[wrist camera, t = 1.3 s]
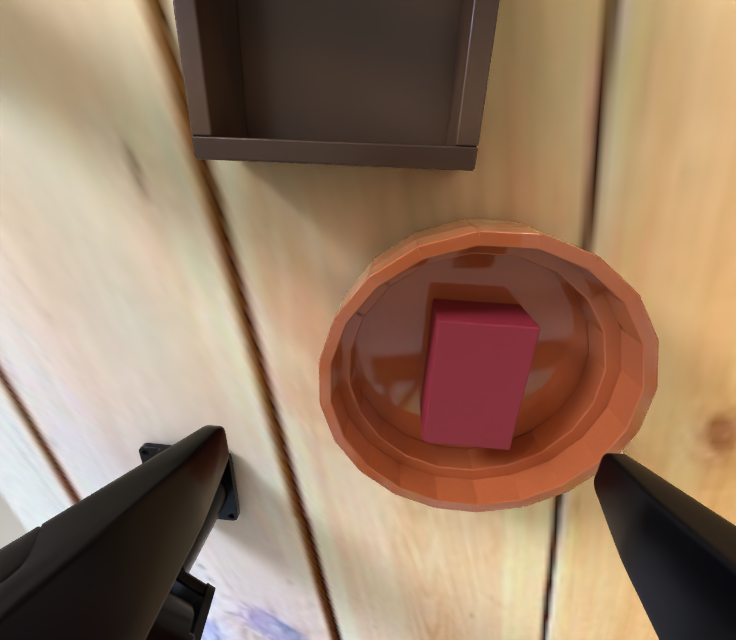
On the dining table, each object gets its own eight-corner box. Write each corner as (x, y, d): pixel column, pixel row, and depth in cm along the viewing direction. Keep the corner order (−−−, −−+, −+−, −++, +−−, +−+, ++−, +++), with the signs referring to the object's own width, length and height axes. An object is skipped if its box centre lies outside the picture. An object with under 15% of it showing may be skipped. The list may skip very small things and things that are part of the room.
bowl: (567, 468, 23) (598, 525, 19) (333, 445, 24) (321, 496, 20) (651, 226, 17) (720, 243, 13) (333, 210, 18) (315, 221, 14)
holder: (458, 170, 17) (475, 171, 13) (238, 160, 17) (194, 158, 14) (501, -161, 12) (544, -299, 9) (207, -156, 13) (131, -282, 9)
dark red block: (495, 413, 21) (510, 450, 18) (419, 407, 21) (422, 442, 19) (520, 304, 18) (541, 327, 16) (432, 298, 19) (438, 320, 16)
